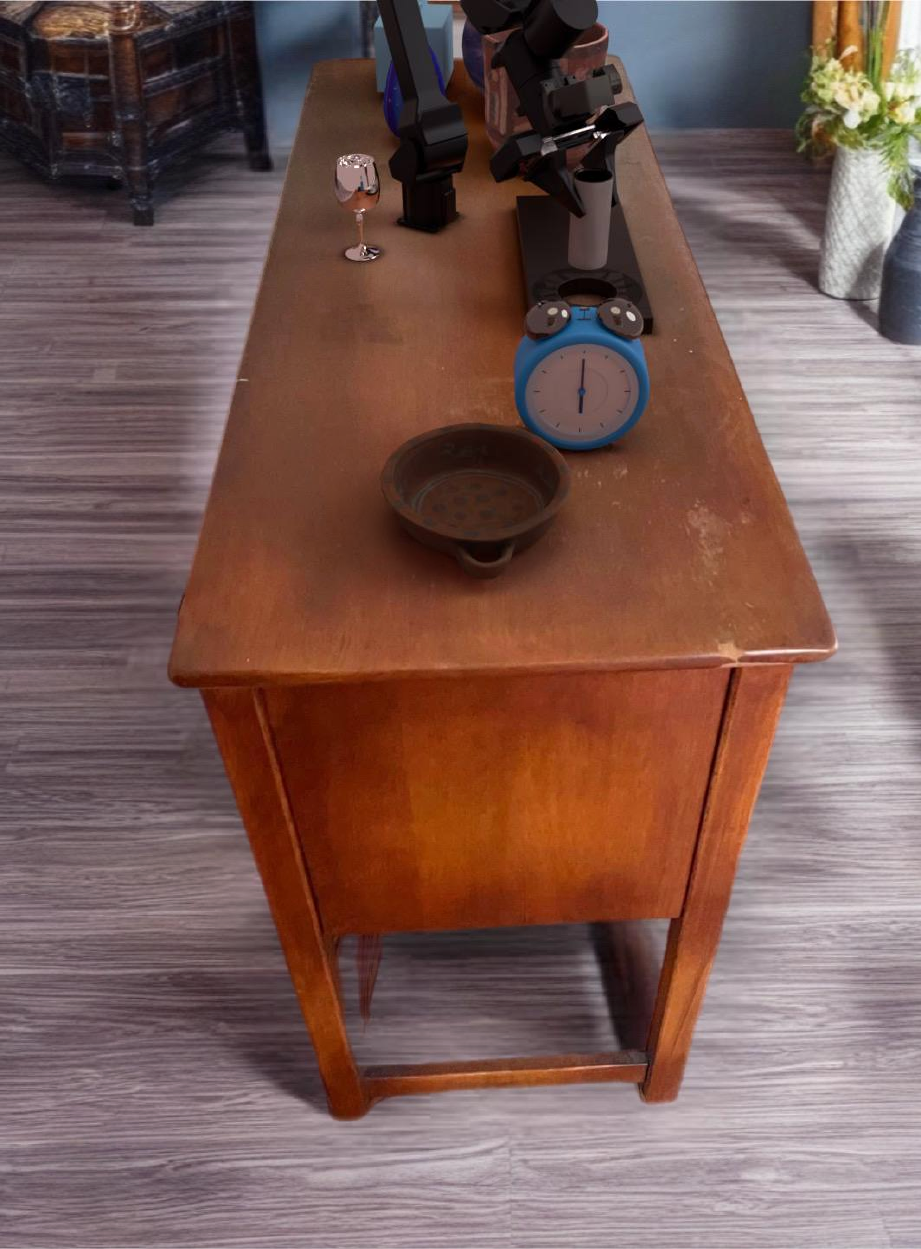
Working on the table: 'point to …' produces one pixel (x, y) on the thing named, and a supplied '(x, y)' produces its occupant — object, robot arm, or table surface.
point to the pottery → (504, 98)
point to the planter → (591, 219)
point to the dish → (476, 491)
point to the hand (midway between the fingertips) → (598, 211)
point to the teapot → (438, 37)
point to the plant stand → (548, 258)
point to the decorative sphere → (473, 55)
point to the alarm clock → (581, 373)
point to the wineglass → (357, 195)
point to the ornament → (394, 97)
